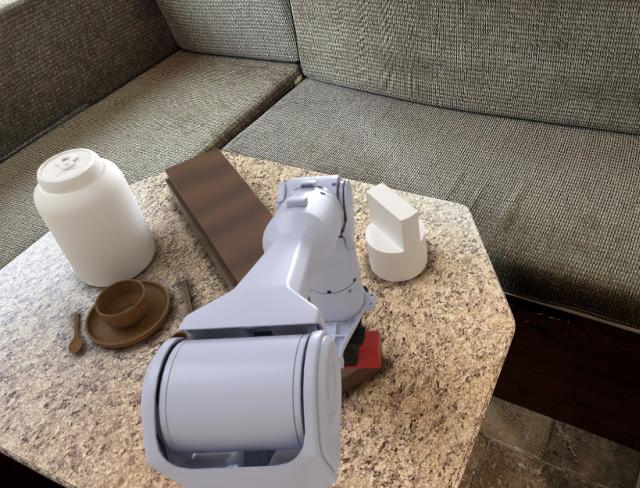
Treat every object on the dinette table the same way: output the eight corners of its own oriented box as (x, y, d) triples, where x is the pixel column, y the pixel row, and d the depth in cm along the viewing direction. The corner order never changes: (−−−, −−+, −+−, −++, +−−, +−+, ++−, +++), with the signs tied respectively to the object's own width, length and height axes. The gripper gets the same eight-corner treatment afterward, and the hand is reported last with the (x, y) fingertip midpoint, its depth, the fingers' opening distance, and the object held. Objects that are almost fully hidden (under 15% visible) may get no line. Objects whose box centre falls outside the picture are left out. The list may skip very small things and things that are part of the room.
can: (73, 253, 101) (16, 157, 89) (148, 224, 106) (104, 128, 93) (83, 301, 93) (21, 202, 80) (165, 267, 97) (117, 168, 84)
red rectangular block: (321, 369, 71) (316, 351, 69) (324, 349, 73) (319, 331, 71) (380, 368, 71) (377, 350, 69) (381, 348, 73) (378, 329, 71)
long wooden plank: (384, 368, 79) (379, 337, 75) (309, 416, 75) (299, 386, 71) (230, 174, 115) (220, 146, 111) (172, 198, 111) (161, 170, 107)
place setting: (187, 270, 96) (175, 244, 92) (208, 368, 81) (195, 340, 78) (70, 311, 91) (53, 285, 88) (70, 421, 77) (50, 395, 73)
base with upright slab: (358, 258, 95) (348, 199, 87) (404, 231, 99) (398, 173, 91) (392, 291, 89) (384, 231, 82) (439, 261, 93) (435, 202, 85)
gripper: (365, 328, 57) (380, 407, 65) (374, 223, 68) (386, 302, 77) (291, 330, 57) (316, 408, 66) (312, 226, 68) (331, 304, 77)
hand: (350, 351), depth 71 cm, fingers closed on red rectangular block, 3 cm apart
